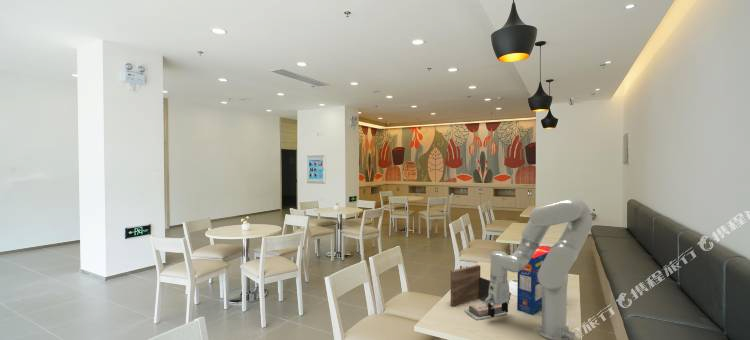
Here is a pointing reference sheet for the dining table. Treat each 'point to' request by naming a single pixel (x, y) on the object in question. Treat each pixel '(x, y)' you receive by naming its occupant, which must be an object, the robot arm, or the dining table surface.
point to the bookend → (483, 288)
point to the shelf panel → (465, 285)
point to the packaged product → (483, 311)
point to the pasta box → (531, 283)
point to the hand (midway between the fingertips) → (498, 313)
